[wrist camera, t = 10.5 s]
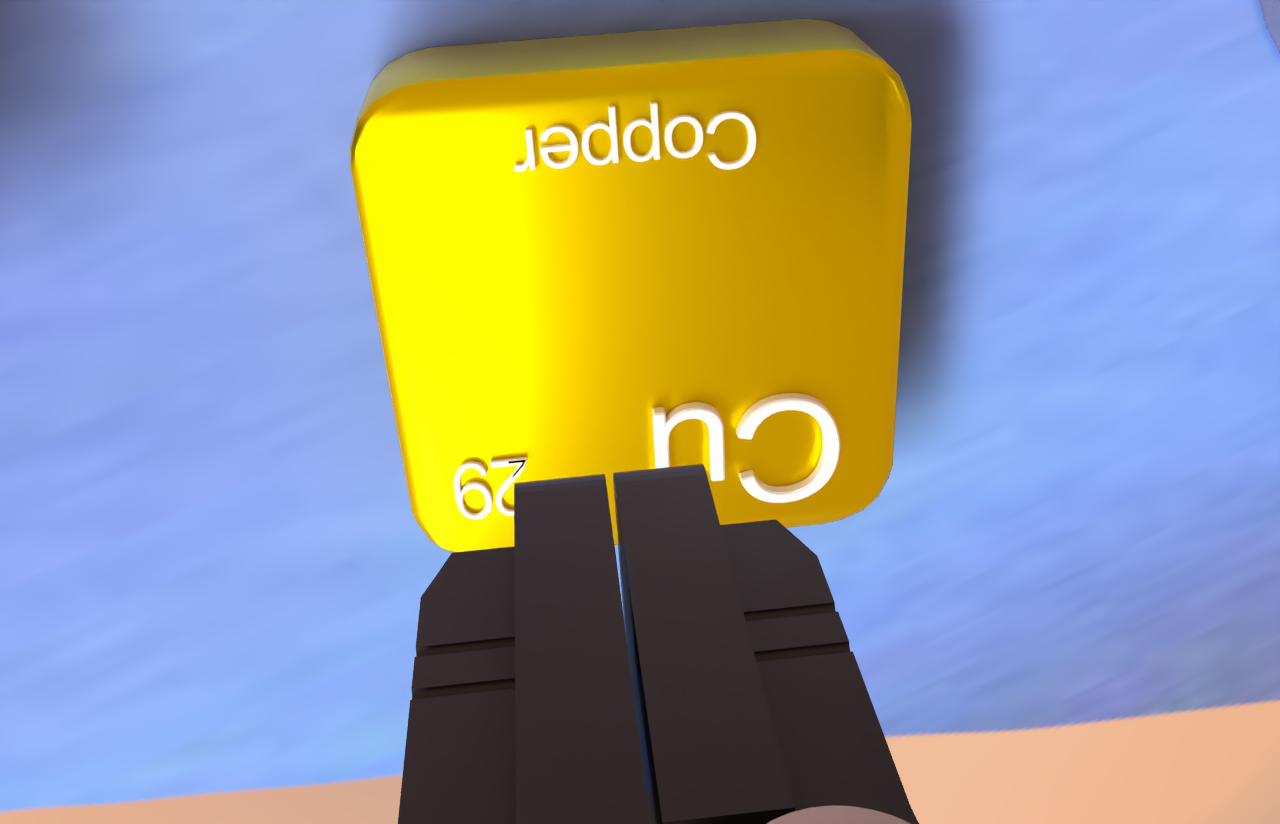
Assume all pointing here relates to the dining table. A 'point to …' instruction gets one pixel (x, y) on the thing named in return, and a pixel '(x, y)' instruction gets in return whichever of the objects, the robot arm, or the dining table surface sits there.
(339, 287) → the dining table surface
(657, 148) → the element tile
